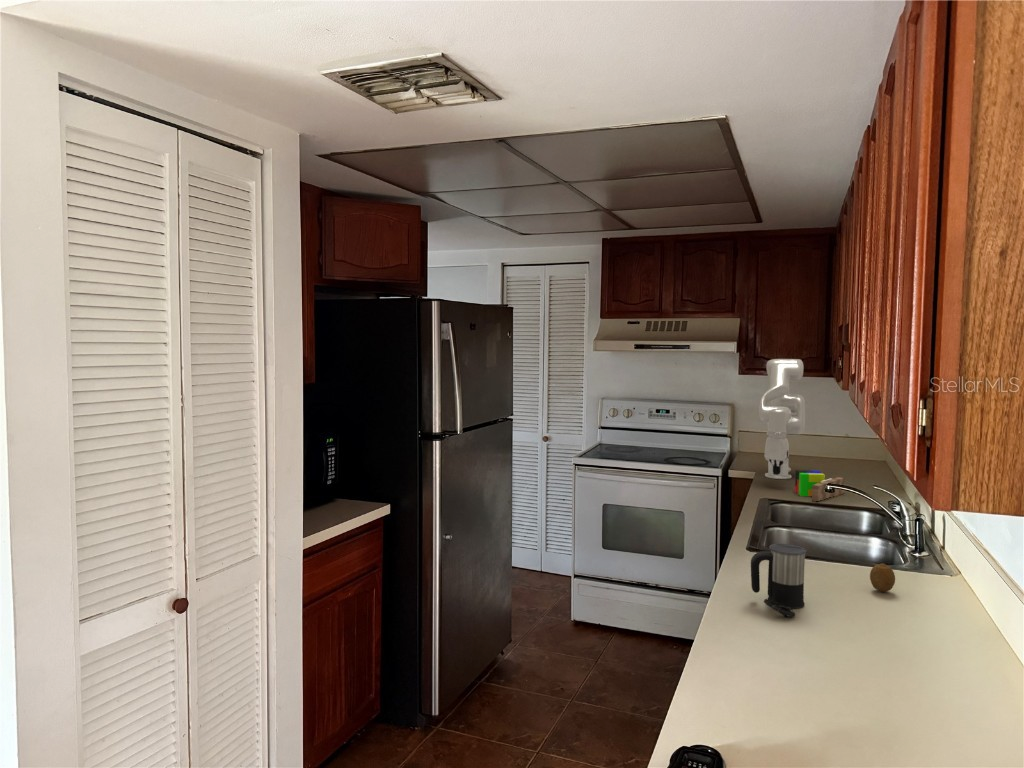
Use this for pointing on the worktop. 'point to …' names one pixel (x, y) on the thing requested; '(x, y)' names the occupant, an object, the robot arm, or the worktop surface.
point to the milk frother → (782, 577)
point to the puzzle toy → (807, 481)
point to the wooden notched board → (820, 493)
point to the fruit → (882, 577)
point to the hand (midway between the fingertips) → (776, 474)
